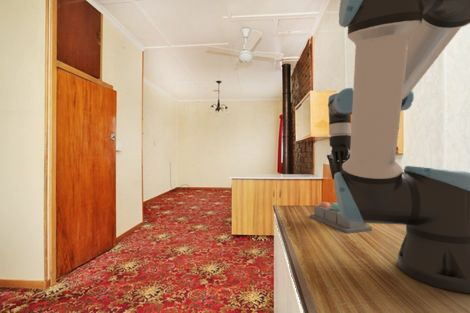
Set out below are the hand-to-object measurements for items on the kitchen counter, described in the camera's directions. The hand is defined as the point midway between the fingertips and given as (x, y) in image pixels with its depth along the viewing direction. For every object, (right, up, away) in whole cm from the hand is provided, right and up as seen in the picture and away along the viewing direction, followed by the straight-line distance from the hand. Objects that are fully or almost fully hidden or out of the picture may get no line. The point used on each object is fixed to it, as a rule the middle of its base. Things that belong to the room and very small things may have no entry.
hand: (342, 199), depth 84 cm
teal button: (0, -7, +4) cm, 8 cm away
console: (0, -10, +4) cm, 11 cm away
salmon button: (-2, -8, +11) cm, 13 cm away
